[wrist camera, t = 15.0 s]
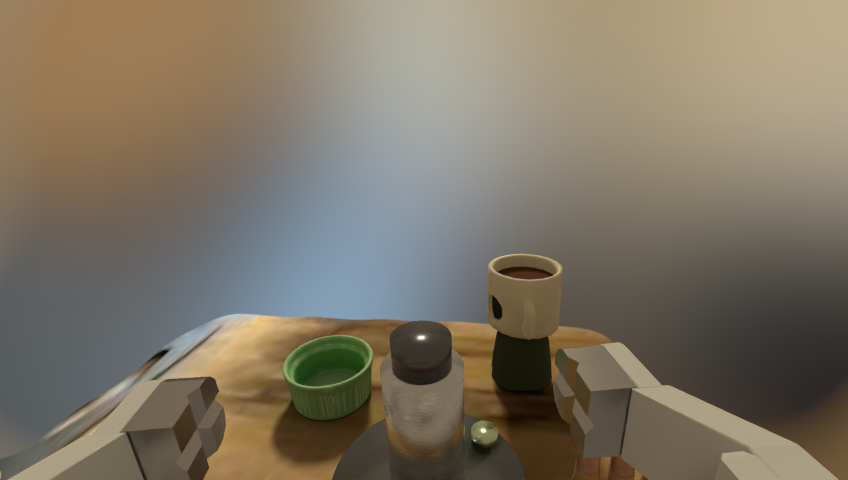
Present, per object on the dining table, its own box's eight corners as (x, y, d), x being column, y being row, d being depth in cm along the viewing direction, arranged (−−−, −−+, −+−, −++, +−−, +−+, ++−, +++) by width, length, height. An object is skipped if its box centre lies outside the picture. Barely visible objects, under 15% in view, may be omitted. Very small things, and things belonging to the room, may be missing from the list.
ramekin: (342, 438, 37) (337, 399, 35) (269, 410, 40) (261, 373, 39) (391, 379, 44) (388, 344, 43) (326, 360, 48) (322, 328, 47)
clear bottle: (390, 518, 24) (375, 365, 21) (391, 451, 29) (379, 318, 26) (471, 510, 25) (470, 358, 21) (459, 445, 29) (456, 312, 26)
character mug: (486, 347, 49) (487, 246, 45) (546, 349, 48) (553, 247, 44) (487, 412, 39) (488, 290, 34) (564, 417, 38) (575, 291, 33)
